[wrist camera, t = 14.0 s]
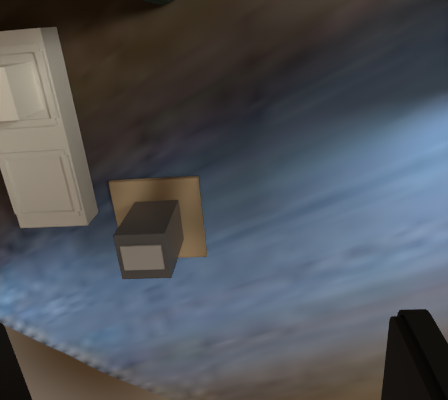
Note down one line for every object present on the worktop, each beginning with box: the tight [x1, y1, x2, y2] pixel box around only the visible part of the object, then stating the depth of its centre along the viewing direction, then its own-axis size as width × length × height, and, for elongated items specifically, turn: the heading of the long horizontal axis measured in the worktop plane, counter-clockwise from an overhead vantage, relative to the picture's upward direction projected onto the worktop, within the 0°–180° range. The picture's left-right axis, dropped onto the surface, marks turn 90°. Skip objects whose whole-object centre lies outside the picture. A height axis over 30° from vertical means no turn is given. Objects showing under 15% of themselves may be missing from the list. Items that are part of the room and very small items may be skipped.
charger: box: [113, 200, 184, 279], centre depth 39 cm, size 4×4×7 cm
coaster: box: [109, 176, 207, 258], centre depth 43 cm, size 9×9×1 cm
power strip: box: [0, 27, 98, 228], centre depth 36 cm, size 18×7×7 cm, turn 5°
